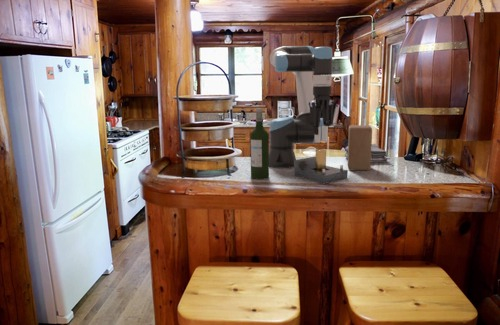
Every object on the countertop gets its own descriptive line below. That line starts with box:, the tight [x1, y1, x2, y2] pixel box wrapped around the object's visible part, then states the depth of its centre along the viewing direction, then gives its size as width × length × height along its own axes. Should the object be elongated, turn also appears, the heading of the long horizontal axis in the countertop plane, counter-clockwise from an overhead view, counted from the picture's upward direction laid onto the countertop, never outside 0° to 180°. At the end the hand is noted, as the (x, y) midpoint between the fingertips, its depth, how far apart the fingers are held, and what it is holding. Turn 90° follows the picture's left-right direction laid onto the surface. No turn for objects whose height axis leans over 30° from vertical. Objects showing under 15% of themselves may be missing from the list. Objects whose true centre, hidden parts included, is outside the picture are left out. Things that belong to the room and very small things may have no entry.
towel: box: [343, 143, 388, 164], centre depth 205 cm, size 15×18×8 cm
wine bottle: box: [249, 107, 270, 180], centre depth 171 cm, size 8×8×30 cm
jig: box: [293, 155, 349, 184], centre depth 172 cm, size 18×14×7 cm
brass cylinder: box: [315, 148, 327, 171], centre depth 171 cm, size 4×4×12 cm
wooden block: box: [347, 124, 373, 172], centre depth 186 cm, size 10×10×20 cm
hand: (321, 141), depth 169 cm, fingers open, 4 cm apart
